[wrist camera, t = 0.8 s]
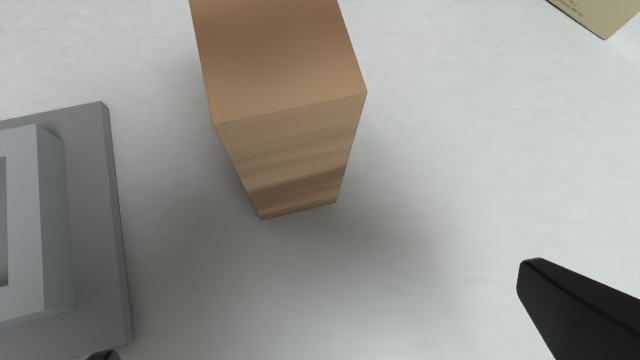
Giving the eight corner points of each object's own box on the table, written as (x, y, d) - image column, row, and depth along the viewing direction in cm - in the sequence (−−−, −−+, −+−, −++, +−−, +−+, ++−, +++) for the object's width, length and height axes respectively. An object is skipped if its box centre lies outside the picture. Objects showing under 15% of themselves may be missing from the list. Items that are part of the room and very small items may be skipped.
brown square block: (335, 202, 23) (367, 92, 11) (261, 220, 23) (213, 124, 11) (316, 134, 25) (327, -28, 13) (245, 150, 24) (188, -3, 12)
